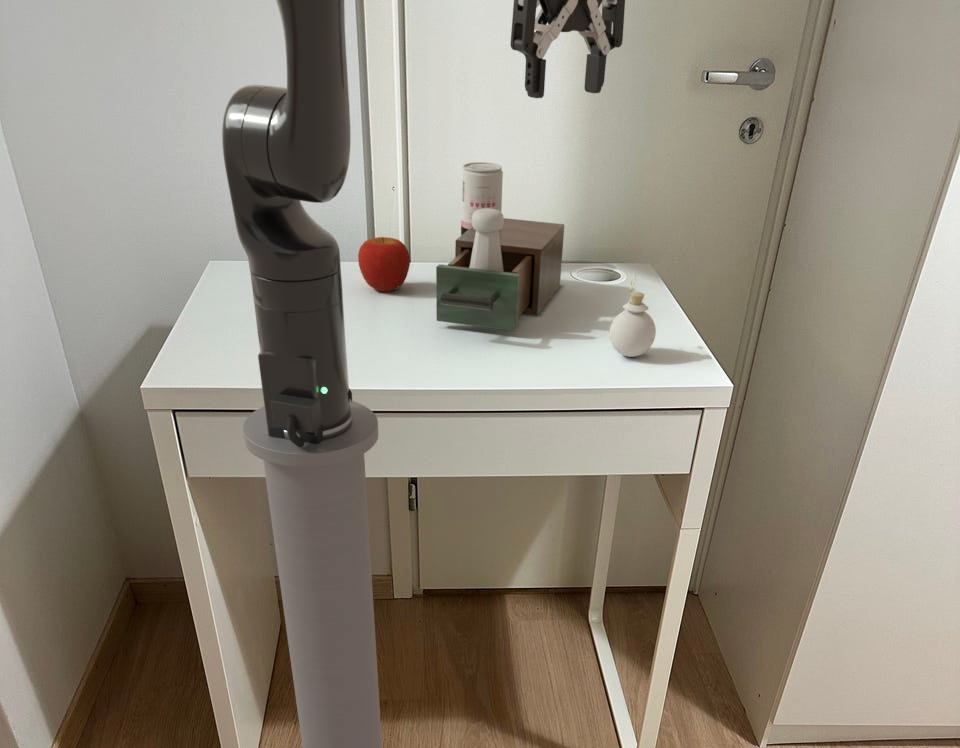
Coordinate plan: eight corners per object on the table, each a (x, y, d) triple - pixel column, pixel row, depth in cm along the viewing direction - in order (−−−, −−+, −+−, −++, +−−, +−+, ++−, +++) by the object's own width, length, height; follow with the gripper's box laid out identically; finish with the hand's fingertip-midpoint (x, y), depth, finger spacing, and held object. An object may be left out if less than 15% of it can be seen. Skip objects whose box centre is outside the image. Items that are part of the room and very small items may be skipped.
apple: (412, 296, 140) (410, 242, 135) (360, 297, 139) (357, 243, 134) (408, 280, 146) (407, 229, 141) (359, 281, 145) (356, 229, 140)
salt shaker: (513, 311, 129) (517, 212, 121) (478, 317, 127) (480, 217, 119) (492, 299, 133) (494, 203, 125) (458, 305, 131) (458, 207, 122)
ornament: (612, 364, 120) (621, 286, 114) (601, 343, 126) (609, 268, 120) (657, 363, 120) (668, 285, 114) (643, 343, 126) (654, 268, 120)
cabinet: (537, 315, 134) (541, 249, 128) (454, 305, 137) (455, 239, 131) (559, 286, 145) (564, 224, 140) (483, 277, 148) (484, 216, 142)
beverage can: (462, 258, 156) (463, 161, 147) (500, 259, 156) (504, 162, 147) (458, 269, 151) (459, 169, 142) (498, 271, 151) (501, 171, 142)
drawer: (505, 343, 122) (508, 286, 118) (424, 332, 125) (423, 276, 120) (539, 301, 136) (542, 249, 132) (465, 292, 139) (466, 241, 134)
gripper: (604, -84, 100) (589, 87, 110) (500, -89, 93) (494, 94, 103) (652, -84, 95) (632, 95, 105) (546, -88, 89) (535, 103, 99)
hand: (564, 94), depth 104 cm, fingers open, 8 cm apart
